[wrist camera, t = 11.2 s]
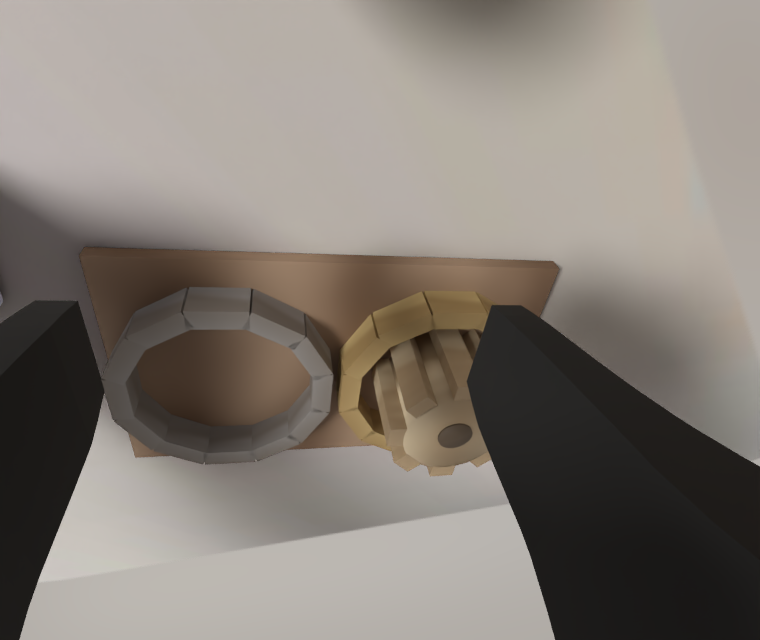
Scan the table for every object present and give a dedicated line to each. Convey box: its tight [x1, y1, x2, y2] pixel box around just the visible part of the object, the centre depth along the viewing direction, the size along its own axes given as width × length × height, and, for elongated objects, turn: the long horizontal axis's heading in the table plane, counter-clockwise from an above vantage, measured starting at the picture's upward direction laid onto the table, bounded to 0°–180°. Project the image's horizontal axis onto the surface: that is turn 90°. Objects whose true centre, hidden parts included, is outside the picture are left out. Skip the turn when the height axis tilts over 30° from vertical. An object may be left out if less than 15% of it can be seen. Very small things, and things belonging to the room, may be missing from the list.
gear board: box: [79, 247, 559, 464], centre depth 21 cm, size 18×11×2 cm, turn 83°
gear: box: [372, 329, 491, 476], centre depth 21 cm, size 5×5×4 cm
